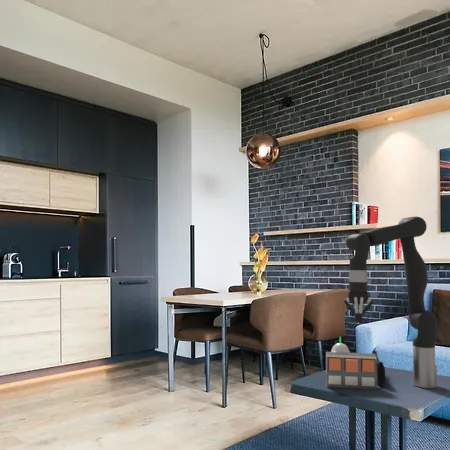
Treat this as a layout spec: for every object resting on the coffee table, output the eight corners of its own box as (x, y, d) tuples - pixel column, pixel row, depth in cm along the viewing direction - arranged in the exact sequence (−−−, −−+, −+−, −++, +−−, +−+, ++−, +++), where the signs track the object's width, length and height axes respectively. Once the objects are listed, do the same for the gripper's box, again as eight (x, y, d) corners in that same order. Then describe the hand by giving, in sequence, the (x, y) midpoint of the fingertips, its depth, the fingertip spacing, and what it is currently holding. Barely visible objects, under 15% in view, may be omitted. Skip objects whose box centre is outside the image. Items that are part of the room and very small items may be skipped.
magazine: (386, 368, 210) (377, 337, 239) (378, 367, 211) (371, 337, 240) (385, 403, 214) (376, 369, 243) (377, 403, 215) (370, 369, 243)
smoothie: (348, 379, 226) (348, 335, 228) (351, 384, 218) (351, 338, 219) (330, 379, 227) (330, 335, 228) (332, 383, 219) (332, 338, 220)
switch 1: (340, 368, 216) (340, 356, 216) (340, 370, 211) (340, 358, 211) (328, 367, 216) (328, 356, 217) (329, 370, 211) (328, 358, 212)
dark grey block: (374, 386, 215) (374, 353, 216) (376, 389, 208) (376, 356, 210) (326, 383, 218) (325, 351, 219) (326, 387, 212) (326, 354, 213)
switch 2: (356, 369, 212) (356, 358, 213) (358, 372, 208) (357, 360, 208) (345, 369, 213) (345, 357, 214) (345, 371, 208) (345, 359, 209)
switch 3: (372, 369, 213) (372, 358, 214) (374, 372, 208) (374, 360, 209) (361, 369, 214) (361, 357, 214) (362, 371, 209) (362, 359, 210)
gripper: (373, 280, 210) (373, 321, 208) (341, 280, 212) (341, 320, 211) (375, 281, 202) (375, 323, 201) (342, 280, 205) (343, 322, 203)
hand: (358, 322), depth 206 cm, fingers closed
